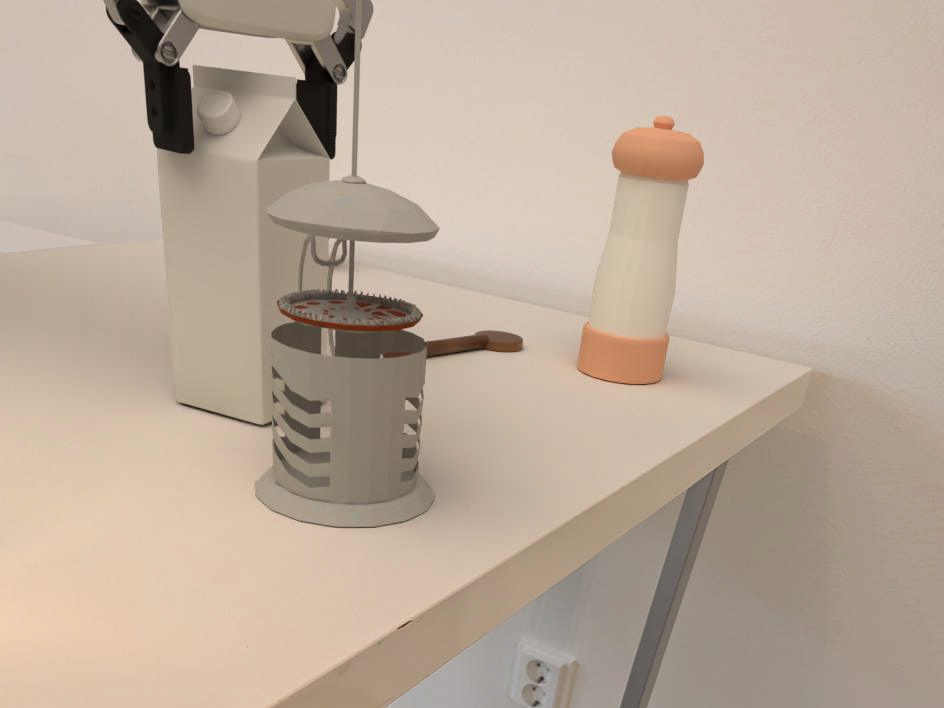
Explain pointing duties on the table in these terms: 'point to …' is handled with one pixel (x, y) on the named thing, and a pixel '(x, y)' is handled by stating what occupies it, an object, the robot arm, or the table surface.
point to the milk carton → (236, 237)
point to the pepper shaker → (640, 255)
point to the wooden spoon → (469, 344)
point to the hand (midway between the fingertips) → (248, 153)
